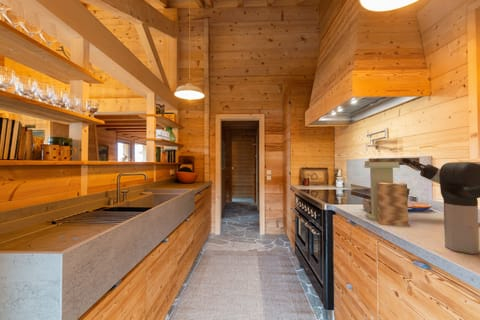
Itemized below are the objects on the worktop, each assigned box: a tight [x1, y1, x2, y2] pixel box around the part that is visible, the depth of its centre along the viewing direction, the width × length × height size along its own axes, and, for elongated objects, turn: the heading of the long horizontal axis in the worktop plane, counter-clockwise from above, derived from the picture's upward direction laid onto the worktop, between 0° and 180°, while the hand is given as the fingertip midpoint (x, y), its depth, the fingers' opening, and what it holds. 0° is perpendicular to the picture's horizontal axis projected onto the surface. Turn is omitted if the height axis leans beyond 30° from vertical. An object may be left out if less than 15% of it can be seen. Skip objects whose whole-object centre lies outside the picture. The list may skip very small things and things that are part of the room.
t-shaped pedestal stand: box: [364, 160, 401, 222], centre depth 128 cm, size 16×10×34 cm, turn 69°
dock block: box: [376, 182, 410, 228], centre depth 118 cm, size 13×9×22 cm, turn 69°
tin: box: [362, 198, 371, 214], centre depth 147 cm, size 15×3×8 cm, turn 168°
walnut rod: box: [368, 157, 421, 166], centre depth 126 cm, size 24×4×4 cm, turn 69°
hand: (401, 159), depth 125 cm, fingers closed on walnut rod, 4 cm apart
